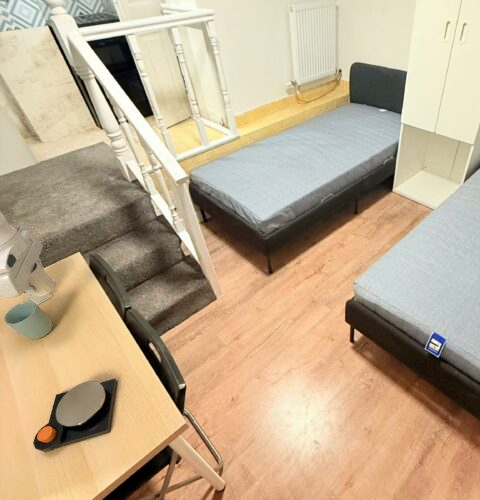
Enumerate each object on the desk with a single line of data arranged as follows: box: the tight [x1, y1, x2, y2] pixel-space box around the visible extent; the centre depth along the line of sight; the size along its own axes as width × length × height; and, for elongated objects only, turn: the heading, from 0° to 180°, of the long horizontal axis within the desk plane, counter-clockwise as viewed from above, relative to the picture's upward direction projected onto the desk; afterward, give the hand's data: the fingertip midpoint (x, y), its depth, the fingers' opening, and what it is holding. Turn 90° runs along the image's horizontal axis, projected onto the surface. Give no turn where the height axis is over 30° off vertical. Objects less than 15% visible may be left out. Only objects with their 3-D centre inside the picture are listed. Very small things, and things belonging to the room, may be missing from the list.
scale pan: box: [56, 380, 105, 427], centre depth 81 cm, size 11×11×1 cm
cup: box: [3, 300, 53, 340], centre depth 97 cm, size 8×8×10 cm
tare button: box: [37, 426, 57, 443], centre depth 76 cm, size 3×3×2 cm
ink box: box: [23, 291, 53, 306], centre depth 106 cm, size 8×5×12 cm, turn 49°
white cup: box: [28, 261, 57, 297], centre depth 93 cm, size 6×6×8 cm
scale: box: [32, 378, 119, 453], centre depth 81 cm, size 15×14×4 cm
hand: (37, 281), depth 94 cm, fingers closed on white cup, 6 cm apart
